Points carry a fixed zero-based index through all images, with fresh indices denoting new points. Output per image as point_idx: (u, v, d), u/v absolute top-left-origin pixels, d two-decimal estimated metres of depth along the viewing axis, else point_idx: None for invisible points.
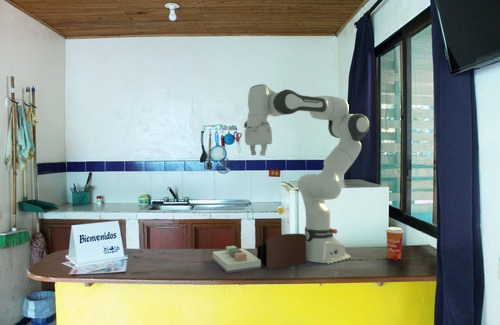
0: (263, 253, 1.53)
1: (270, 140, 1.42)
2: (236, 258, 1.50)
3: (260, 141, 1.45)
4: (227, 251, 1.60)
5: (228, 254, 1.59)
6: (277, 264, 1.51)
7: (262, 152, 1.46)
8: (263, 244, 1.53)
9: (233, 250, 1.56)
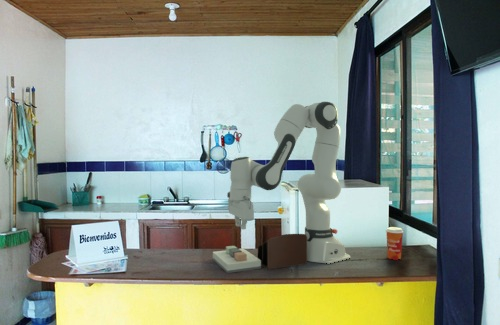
0: (264, 253, 1.53)
1: (252, 217, 1.42)
2: (236, 258, 1.50)
3: (242, 217, 1.44)
4: (227, 251, 1.60)
5: (228, 254, 1.59)
6: (278, 264, 1.51)
7: (242, 226, 1.47)
8: (264, 244, 1.53)
9: (233, 250, 1.56)
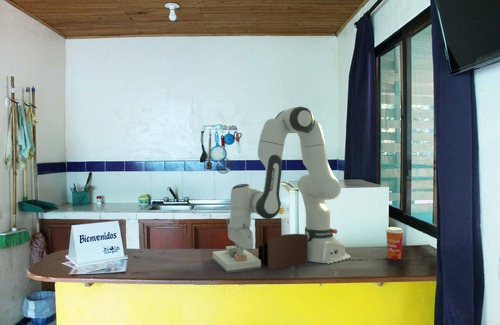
0: (264, 253, 1.53)
1: (251, 245, 1.42)
2: (236, 259, 1.50)
3: (241, 245, 1.44)
4: (227, 251, 1.60)
5: (228, 254, 1.59)
6: (278, 264, 1.50)
7: (240, 252, 1.49)
8: (264, 244, 1.53)
9: (233, 250, 1.56)
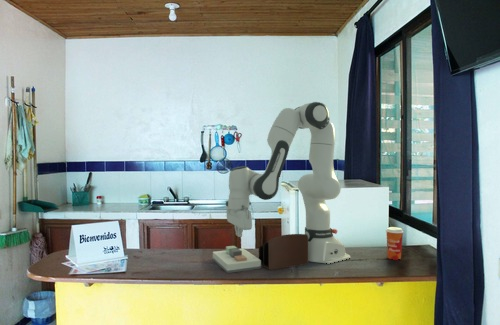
0: (265, 254, 1.52)
1: (250, 226, 1.44)
2: None
3: (240, 226, 1.46)
4: (227, 251, 1.60)
5: (228, 254, 1.59)
6: (279, 265, 1.50)
7: (239, 234, 1.51)
8: (265, 245, 1.52)
9: (233, 250, 1.56)
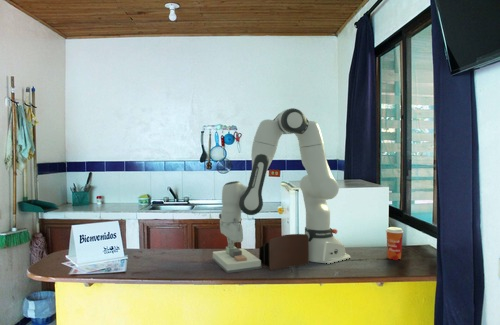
0: (265, 254, 1.52)
1: (241, 238, 1.52)
2: None
3: (232, 238, 1.54)
4: (227, 251, 1.60)
5: (228, 254, 1.59)
6: (279, 265, 1.50)
7: (231, 245, 1.60)
8: (265, 245, 1.52)
9: (233, 250, 1.56)
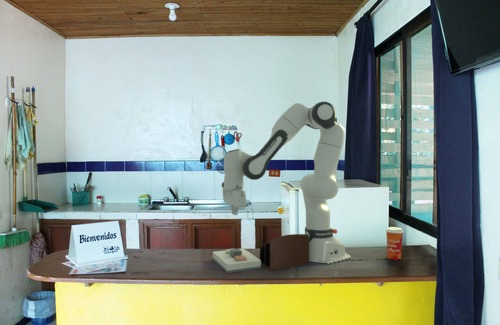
0: (266, 254, 1.52)
1: (244, 204, 1.55)
2: None
3: (235, 204, 1.57)
4: None
5: None
6: (280, 265, 1.50)
7: (234, 212, 1.62)
8: (266, 245, 1.52)
9: (233, 250, 1.56)
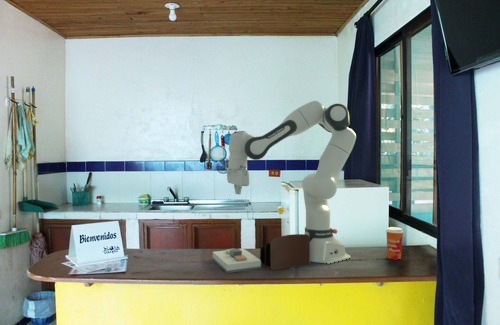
0: (266, 254, 1.52)
1: (247, 183, 1.61)
2: None
3: (239, 183, 1.63)
4: None
5: None
6: (281, 265, 1.50)
7: (238, 191, 1.68)
8: (266, 245, 1.52)
9: (233, 250, 1.56)
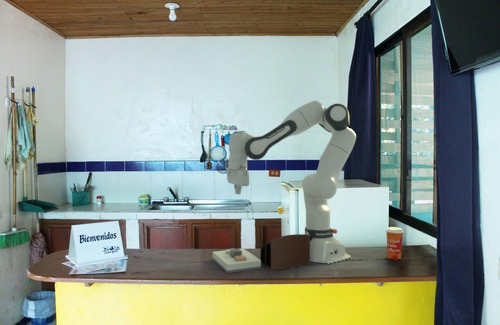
0: (267, 254, 1.52)
1: (247, 183, 1.61)
2: None
3: (239, 183, 1.63)
4: None
5: None
6: (281, 265, 1.49)
7: (238, 191, 1.68)
8: (267, 245, 1.51)
9: (233, 250, 1.56)
